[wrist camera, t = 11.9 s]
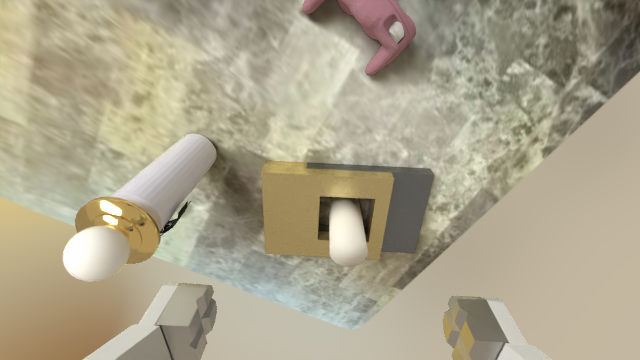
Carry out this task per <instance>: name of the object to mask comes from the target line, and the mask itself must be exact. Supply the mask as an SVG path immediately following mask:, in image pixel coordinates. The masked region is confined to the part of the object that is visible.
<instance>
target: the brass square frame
mask: <svg viewBox="0 0 640 360" xmlns="http://www.w3.org/2000/svg"><path fill="white" fill-rule="evenodd" d="M433 176H434V174H433V173H432V171H431V170H430V169H425V168H405V167H385V166H364V165H344V164H324V163H304V162H284V161H266V162H265V165H264V167H263V169H262V172H261V180H262V198H263V217H264V235H265V254H279V255H299V256H320V257H330V236H329V225H318V223H319V204H320V196H325V197H345V198H366V199H370V202H369V209H368V215H367V222H366V227H364V232H365V238H366V243H367V249H368V254H367V257H366V258H365V259H380V253H381V251H384V252H405V253H414V252H415V248H416V244H417V240H418V236H419V232H420V228H421V224H422V220H423V216H424V212H425V208H426V204H427V200H428V196H429V192H430V188H431V184H432V180H433Z"/></svg>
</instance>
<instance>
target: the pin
mask: <svg viewBox="0 0 640 360" xmlns="http://www.w3.org/2000/svg"><path fill="white" fill-rule="evenodd" d="M329 236H330V257H331V259H332V260H333V261H334V262H335V263H337V264H339V265H341V266H347V267H350V266H355V265H358V264H360V263H361V262H363V261H364V260H365V258H366V257H367V254H368V249H367V243H366V238H365V232H364V226H363V220H362V214H361V209H360V203H359V200H358V198H345V197H333V198H332V199H331V200H330V203H329Z"/></svg>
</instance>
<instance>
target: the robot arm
mask: <svg viewBox="0 0 640 360" xmlns="http://www.w3.org/2000/svg"><path fill="white" fill-rule="evenodd" d="M213 292H214V291H213V288H212V286H211V285H201V284H187V283H171V282H167V283H166V284H164V285H163V286H162V288H161V289H160V291H159V293H158V294H157V296H156V297H155V299H154V300H153V302H152V303H151V305H150V307H149V308H148V310H147V311H146V313H145V314H144V316H143V318H142V319H141V321H140V322H139V324H138V325H132V326H131V327H129V328H128V329H126V330H125V331H123V332H122V333H120V334H119V335H118V336H116V337H115V338H113V339H112V340H110V341H109V342H107V343H106V344H105V345H103V346H102V347H100V348H99V349H97V350H96V351H94V352H93V353H92V354H90V355H89V356H87V357H86V358H85V359H83V360H200V359H201V356H202V354H203V351H204V349H205V346H206V344H207V341H206V336H205V335H207V334H208V333H209V332H210V331H211V330H212V328H213V326H214V323H215V319H216V313H217V311H216V310H217V306H216V301H215V300H214V299H212V295H213ZM448 305H449V307H450V309H449V310H448V311H447V312H445V315H444V319H443V329H444V334H445V337H446V340H447V342H448V343H449V344H450V345H451V346H452V347H453V348H454V351H453V353H452V357H453V360H552V359H551V358H549V357H548V356H547V355H545V354H544V353H543V352H542V351H540V350H539V349H538V348H536V347H535V346H534V345H530V344H527V342H526V340H525V339H524V337H523V335H522V333H521V332H520V330H519V329H518V327H517V325H516V324H515V322H514V320H513V319H512V317H511V315H510V314H509V312H508V310H507V309H506V307H505V305H504V304H503V302H502V301H501V300H500V299H499V298H482V297H464V296H452V297H451V298H450V300H449V303H448Z"/></svg>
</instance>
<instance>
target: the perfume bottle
mask: <svg viewBox="0 0 640 360" xmlns="http://www.w3.org/2000/svg"><path fill="white" fill-rule="evenodd" d="M215 160H216V150H215V147H214V146H213V144H212V143H211V142H210V141H209V140H208V139H207V138H205V137H204V136H201V135H198V134H189V135H186V136H184V137H182V138H181V139H180V140H179V141H178V142H176V143H175V144H174V145H173V146H171V147H170V148H169V149H168V150H167V151H165V152H164V153H163V154H162V155H160V156H159V157H158V158H157V159H156V160H154V161H153V162H152V163H151V164H149V165H148V166H147V167H146V168H145V169H143V170H142V171H141V172H140V173H138V174H137V175H136V176H135V177H134V178H132V179H131V180H130V181H129V182H127V183H126V184H125V185H124V186H123V187H121V188H120V189H119V190H118V191H116V192H115V193H114V194H113V195H112V196H110V197H100V198H96V199H94V200H92V201H90V202H88V203H87V204H86V205H84V206H83V207H82V208H81V209H80V210H79V211H78V213H77V215H76V219H75V226H76V229H77V234H76V235H74V236H73V237H72V238H71V239H70V240H69V242H68V243H67V245H66V247H65V249H64V252H63V264H64V267H65V268H66V270H67V272H68V273H69V274H70V275H71V276H73V277H74V278H76V279H78V280H81V281H87V282H96V281H101V280H105V279H107V278H110V277H112V276H113V275H115V274H117V273H118V272H119V271H120V270H121V269H122V268H123V267H124V266H125V264H135V263H140V262H143V261H145V260H147V259H148V258H150V257H151V256H152V255H153V254H154V252H155V251H156V250H157V248H158V246H159V244H160V238H161V237H160V236H161V235H163V234H164V233H165V232H167V231H169V230H170V229H171V228H173V226H174V225H175V224H176V223H177V222H176V221H178V220H179V219H180V217H181V216H182V215H183V213H184V212H185V210H186V208H187V206H188V205H187V203H188V201H187V202H186V204H185V205H184V206H183V208H182V209H181V210H180V212H179V213H178V218H177V219H174V220H171V221H169V220H170V218H171V217H172V216H173V215H174V213H175V212H176V211H177V210H178V208H179V207H180V206H181V204H182V203H183V202H184V201H185V199H186V198H187V197H188V196H189V194H190V193H191V192H192V190H193V189H194V188H195V187H196V185H197V184H198V183H199V182H200V180H201V179H202V178H203V177H204V175H205V174H206V173H207V171H208V170H209V169H210V168H211V166H212V165H213V164H214V162H215ZM190 202H191V201H190ZM190 202H189V203H190ZM173 221H174V222H175V223H174V222H173ZM171 222H172V224H171ZM168 224H171V226H170V225H168ZM168 226H169V227H168ZM163 227H164V230H163ZM167 227H168V228H167ZM161 233H163V234H161ZM160 234H161V235H160Z"/></svg>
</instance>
